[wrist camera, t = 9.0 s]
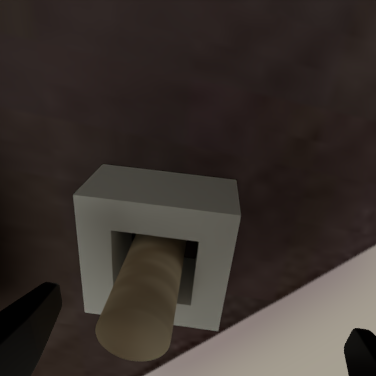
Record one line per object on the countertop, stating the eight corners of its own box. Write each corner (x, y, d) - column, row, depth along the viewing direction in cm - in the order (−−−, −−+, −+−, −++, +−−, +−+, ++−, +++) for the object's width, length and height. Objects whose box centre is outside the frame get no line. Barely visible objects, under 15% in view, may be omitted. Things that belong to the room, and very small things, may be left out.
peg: (190, 209, 21) (172, 315, 12) (186, 249, 22) (168, 366, 14) (141, 204, 21) (93, 304, 13) (141, 243, 22) (97, 355, 14)
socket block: (236, 179, 19) (241, 215, 15) (218, 281, 23) (217, 331, 19) (102, 164, 20) (72, 194, 16) (107, 266, 24) (84, 312, 20)
